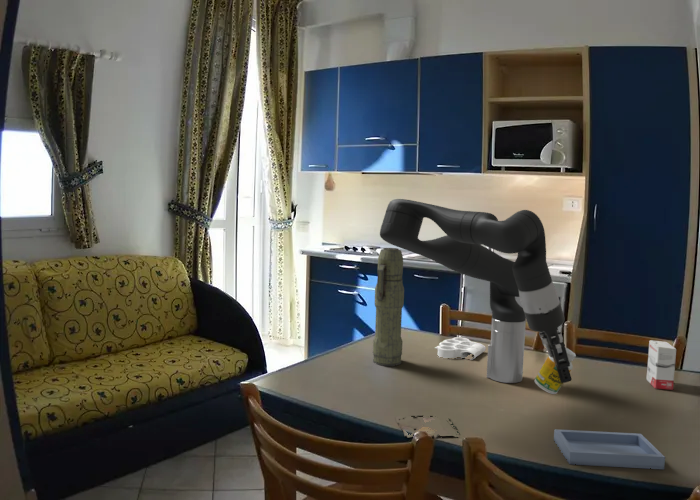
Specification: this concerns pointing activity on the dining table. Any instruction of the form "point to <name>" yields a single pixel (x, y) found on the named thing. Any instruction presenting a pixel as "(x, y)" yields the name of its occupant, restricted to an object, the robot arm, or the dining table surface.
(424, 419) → the parchment
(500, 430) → the dining table surface
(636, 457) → the tray
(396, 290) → the thermos
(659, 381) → the ink box
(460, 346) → the white holder with holes
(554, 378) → the supplement bottle
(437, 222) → the robot arm
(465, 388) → the dining table surface
